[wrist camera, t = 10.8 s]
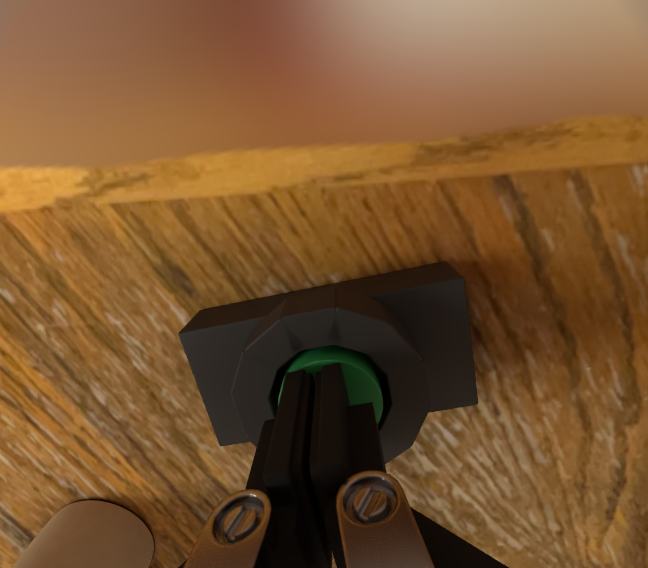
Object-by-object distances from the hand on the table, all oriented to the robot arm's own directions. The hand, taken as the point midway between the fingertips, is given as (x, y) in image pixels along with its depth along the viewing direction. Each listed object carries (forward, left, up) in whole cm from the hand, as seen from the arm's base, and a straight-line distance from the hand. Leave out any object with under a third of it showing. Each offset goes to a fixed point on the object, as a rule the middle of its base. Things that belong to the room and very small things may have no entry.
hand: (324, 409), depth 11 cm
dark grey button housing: (0, 0, -4) cm, 4 cm away
